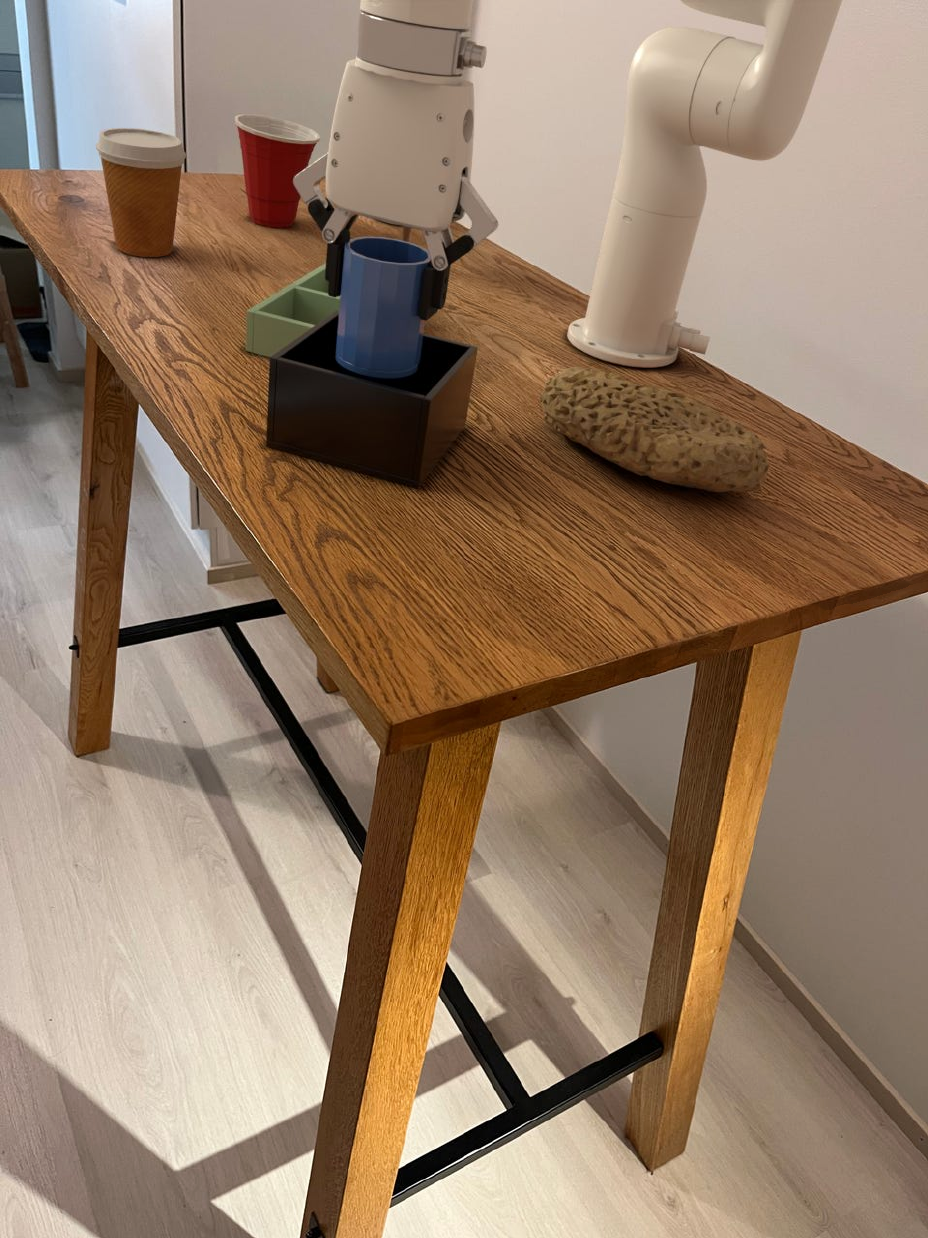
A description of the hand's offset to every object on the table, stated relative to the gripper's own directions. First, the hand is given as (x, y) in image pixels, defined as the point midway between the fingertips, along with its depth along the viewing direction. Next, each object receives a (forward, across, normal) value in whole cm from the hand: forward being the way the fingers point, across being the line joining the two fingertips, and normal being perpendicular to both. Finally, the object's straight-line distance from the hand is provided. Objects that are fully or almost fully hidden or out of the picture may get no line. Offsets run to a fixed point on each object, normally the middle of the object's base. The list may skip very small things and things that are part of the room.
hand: (383, 301), depth 80 cm
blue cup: (+5, 0, 0) cm, 5 cm away
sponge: (+12, -23, -9) cm, 28 cm away
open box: (+12, 0, 0) cm, 12 cm away
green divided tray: (+12, +12, -20) cm, 26 cm away
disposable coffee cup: (+12, +40, -31) cm, 52 cm away
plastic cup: (+12, +34, -53) cm, 64 cm away
